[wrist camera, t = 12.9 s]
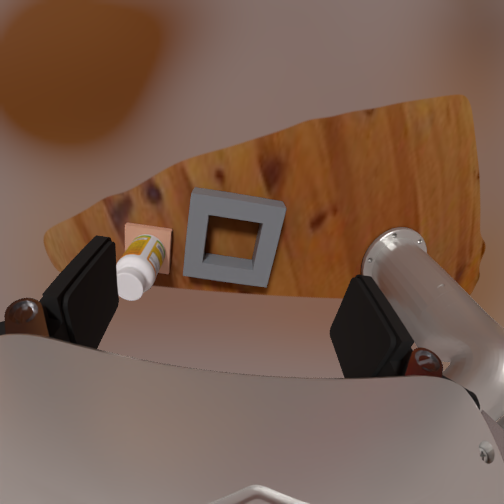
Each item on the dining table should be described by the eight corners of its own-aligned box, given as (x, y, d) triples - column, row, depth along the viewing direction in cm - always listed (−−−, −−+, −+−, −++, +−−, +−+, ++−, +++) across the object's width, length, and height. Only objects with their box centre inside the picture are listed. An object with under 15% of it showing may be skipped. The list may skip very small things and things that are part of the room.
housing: (282, 201, 38) (286, 208, 36) (264, 276, 44) (266, 287, 41) (194, 187, 37) (191, 193, 34) (186, 265, 42) (183, 275, 40)
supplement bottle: (126, 254, 40) (102, 291, 31) (140, 226, 38) (115, 259, 29) (156, 272, 42) (139, 312, 33) (172, 245, 40) (155, 282, 31)
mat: (172, 229, 40) (171, 231, 39) (169, 271, 43) (168, 274, 42) (127, 222, 39) (124, 225, 38) (127, 263, 42) (125, 267, 41)
